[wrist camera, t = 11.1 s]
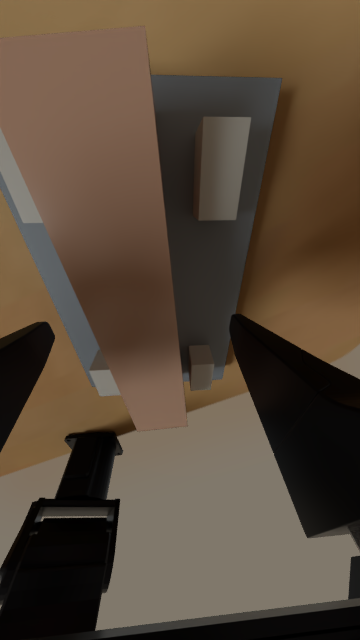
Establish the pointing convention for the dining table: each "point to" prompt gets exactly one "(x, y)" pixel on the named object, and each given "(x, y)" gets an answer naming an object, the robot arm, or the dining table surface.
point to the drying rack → (180, 215)
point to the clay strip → (102, 198)
